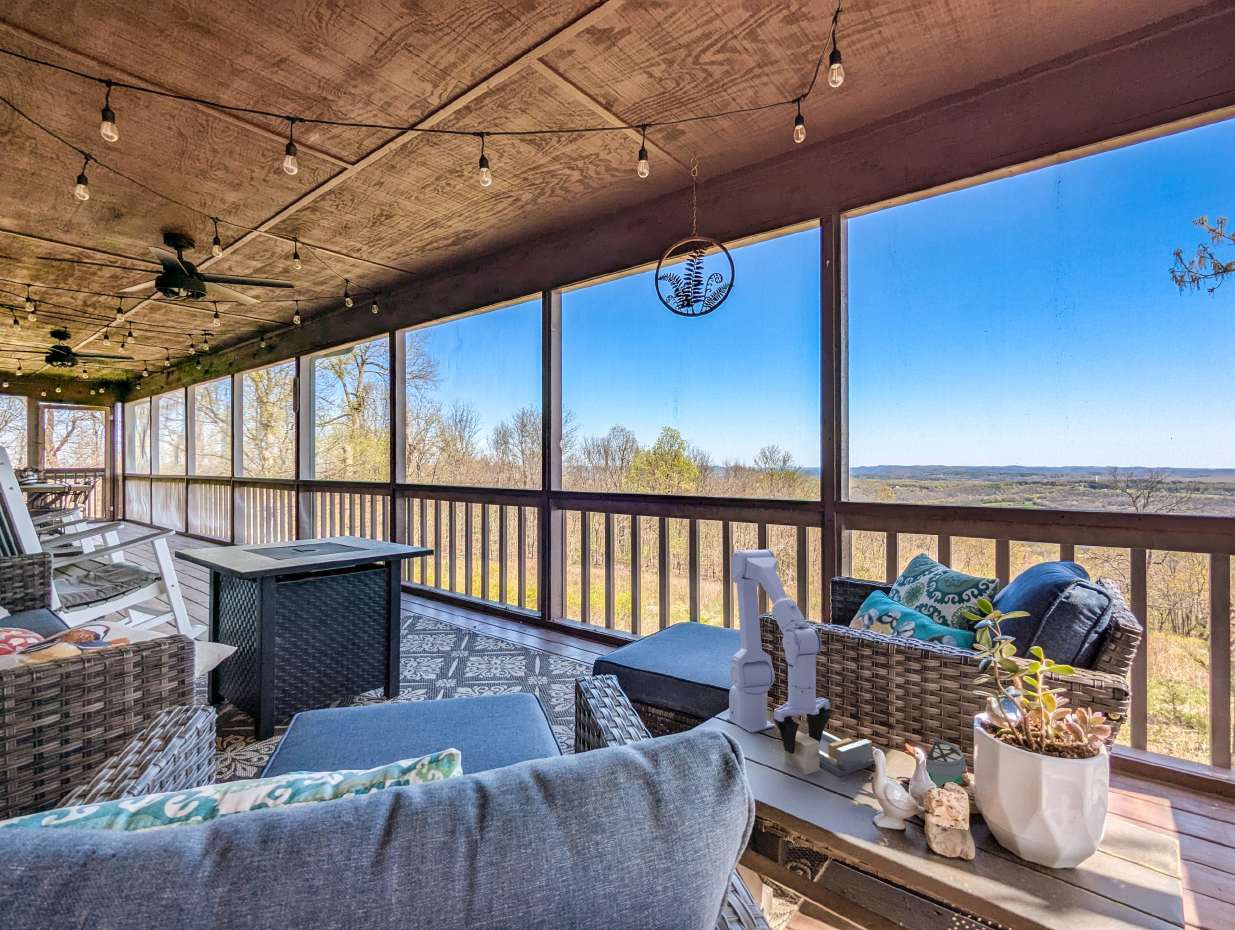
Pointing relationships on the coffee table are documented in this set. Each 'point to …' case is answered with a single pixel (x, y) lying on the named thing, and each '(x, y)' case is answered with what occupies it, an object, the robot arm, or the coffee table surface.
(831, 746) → the block
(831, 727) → the coffee table surface
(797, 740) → the birch block
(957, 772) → the food container
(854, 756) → the rail board
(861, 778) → the coffee table surface
